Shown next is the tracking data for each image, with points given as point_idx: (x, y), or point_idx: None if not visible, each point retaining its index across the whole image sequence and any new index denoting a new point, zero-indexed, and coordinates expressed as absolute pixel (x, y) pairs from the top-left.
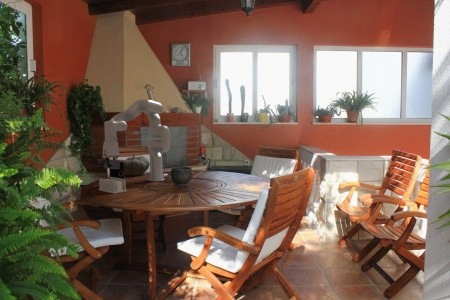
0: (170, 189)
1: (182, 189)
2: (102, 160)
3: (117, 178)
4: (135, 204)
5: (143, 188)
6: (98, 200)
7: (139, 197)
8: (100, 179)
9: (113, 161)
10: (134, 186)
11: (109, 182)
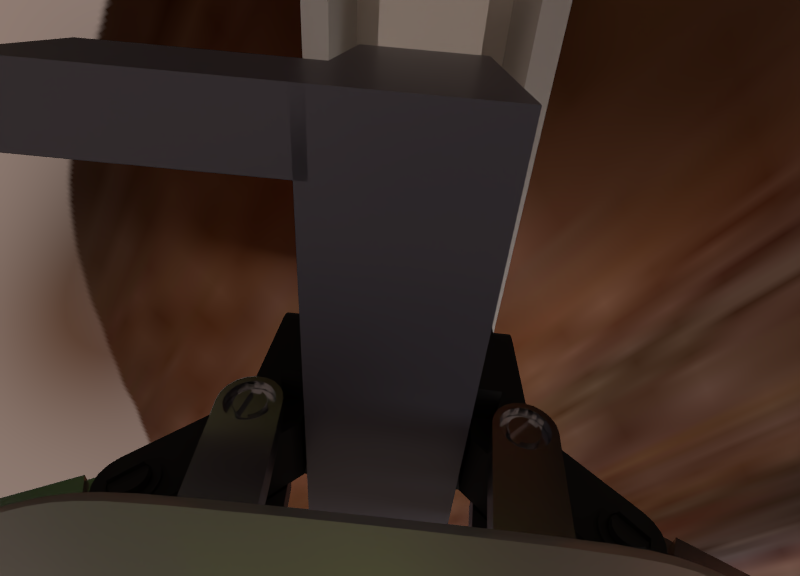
0: (695, 482)
1: (720, 528)
2: (168, 156)
3: None
4: None
5: (665, 317)
6: (123, 356)
7: None
8: (303, 2)
9: None
10: (752, 160)
11: None
